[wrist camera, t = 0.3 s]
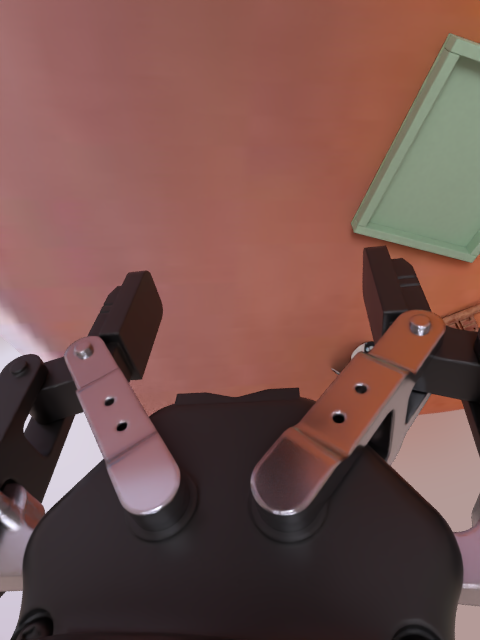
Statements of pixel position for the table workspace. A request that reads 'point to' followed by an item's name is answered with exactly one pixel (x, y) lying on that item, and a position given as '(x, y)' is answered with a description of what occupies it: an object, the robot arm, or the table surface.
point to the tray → (433, 164)
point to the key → (464, 319)
